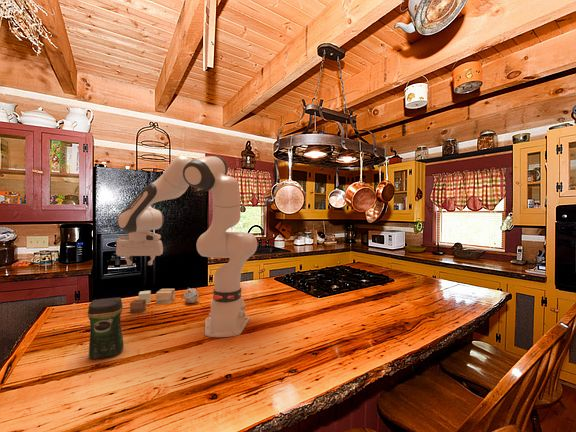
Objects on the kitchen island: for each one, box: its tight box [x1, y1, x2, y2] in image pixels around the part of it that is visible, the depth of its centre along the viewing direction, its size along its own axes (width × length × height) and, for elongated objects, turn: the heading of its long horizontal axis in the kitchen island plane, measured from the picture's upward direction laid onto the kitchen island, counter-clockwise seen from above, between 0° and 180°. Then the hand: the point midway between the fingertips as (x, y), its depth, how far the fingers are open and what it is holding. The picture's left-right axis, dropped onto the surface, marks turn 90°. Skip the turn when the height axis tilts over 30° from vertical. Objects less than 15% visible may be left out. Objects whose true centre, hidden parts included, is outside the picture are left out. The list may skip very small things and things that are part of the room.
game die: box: [182, 286, 200, 305], centre depth 140 cm, size 9×8×10 cm
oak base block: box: [155, 288, 176, 305], centre depth 142 cm, size 7×7×6 cm
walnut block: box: [129, 299, 147, 314], centre depth 128 cm, size 5×5×5 cm
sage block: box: [138, 290, 152, 304], centre depth 142 cm, size 5×5×5 cm
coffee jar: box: [87, 296, 124, 360], centre depth 91 cm, size 10×8×19 cm
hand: (140, 265), depth 128 cm, fingers open, 8 cm apart
